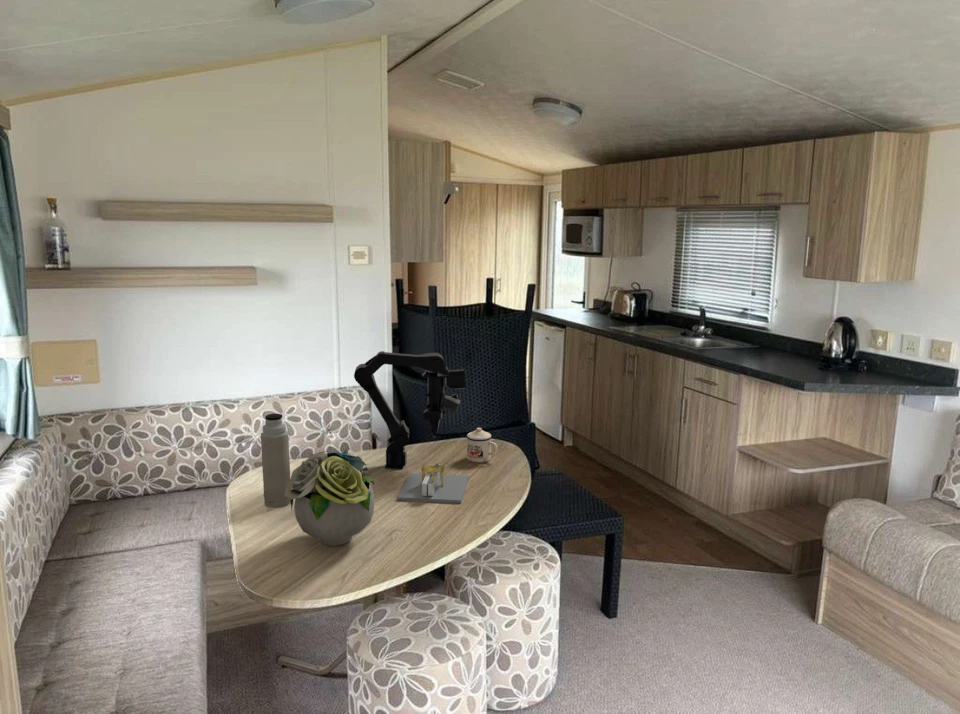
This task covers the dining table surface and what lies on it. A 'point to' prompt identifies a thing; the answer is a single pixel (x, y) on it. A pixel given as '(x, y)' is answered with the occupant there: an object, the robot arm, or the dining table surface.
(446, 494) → the tongs base
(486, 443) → the teacup with lid
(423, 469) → the lock collar
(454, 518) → the dining table surface
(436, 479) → the tong arm
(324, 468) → the flower arrangement
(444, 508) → the dining table surface
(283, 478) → the thermos bottle
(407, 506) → the dining table surface
